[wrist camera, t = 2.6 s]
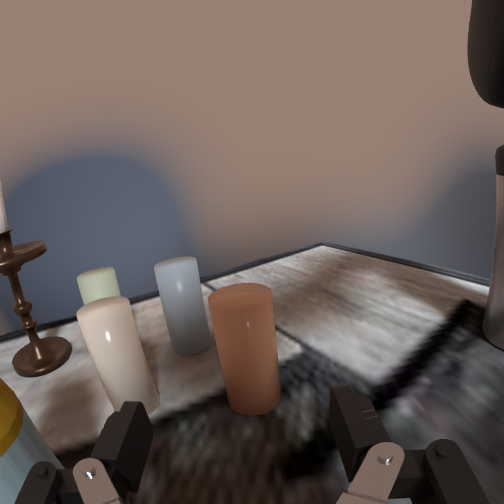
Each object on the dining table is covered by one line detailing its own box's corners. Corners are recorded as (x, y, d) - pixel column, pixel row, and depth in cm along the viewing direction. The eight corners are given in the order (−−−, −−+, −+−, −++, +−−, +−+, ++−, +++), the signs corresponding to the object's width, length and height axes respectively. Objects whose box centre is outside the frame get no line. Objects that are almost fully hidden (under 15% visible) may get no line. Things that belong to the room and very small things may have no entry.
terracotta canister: (250, 376, 29) (236, 279, 26) (291, 391, 26) (283, 288, 23) (217, 403, 25) (194, 301, 23) (259, 423, 22) (243, 314, 20)
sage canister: (123, 337, 38) (104, 265, 36) (142, 348, 35) (120, 269, 33) (95, 351, 35) (71, 277, 32) (111, 364, 32) (85, 283, 29)
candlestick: (84, 335, 39) (41, 85, 30) (66, 378, 29) (6, 61, 20) (25, 342, 37) (-20, 109, 27) (-2, 382, 26) (-62, 97, 17)
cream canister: (142, 382, 29) (113, 292, 26) (169, 401, 26) (139, 303, 23) (105, 403, 25) (69, 311, 23) (130, 426, 22) (89, 326, 20)
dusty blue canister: (193, 331, 39) (178, 255, 36) (219, 340, 36) (205, 258, 33) (165, 347, 35) (145, 267, 33) (190, 359, 32) (171, 272, 30)
